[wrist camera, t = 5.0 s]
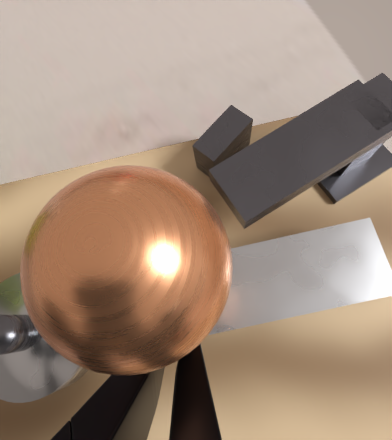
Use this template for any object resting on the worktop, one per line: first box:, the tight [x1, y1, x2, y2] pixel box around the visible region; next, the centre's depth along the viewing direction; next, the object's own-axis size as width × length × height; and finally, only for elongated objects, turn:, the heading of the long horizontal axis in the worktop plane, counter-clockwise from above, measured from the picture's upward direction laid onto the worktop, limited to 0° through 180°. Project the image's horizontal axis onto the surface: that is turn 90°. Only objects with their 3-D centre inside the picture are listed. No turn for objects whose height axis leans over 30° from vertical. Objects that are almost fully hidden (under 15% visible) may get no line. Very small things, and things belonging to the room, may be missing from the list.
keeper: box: [192, 73, 392, 229], centre depth 15 cm, size 9×7×5 cm
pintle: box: [0, 315, 39, 355], centre depth 13 cm, size 4×4×5 cm
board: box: [0, 116, 392, 440], centre depth 15 cm, size 25×22×1 cm
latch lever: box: [0, 165, 392, 403], centre depth 9 cm, size 18×5×12 cm, turn 102°
